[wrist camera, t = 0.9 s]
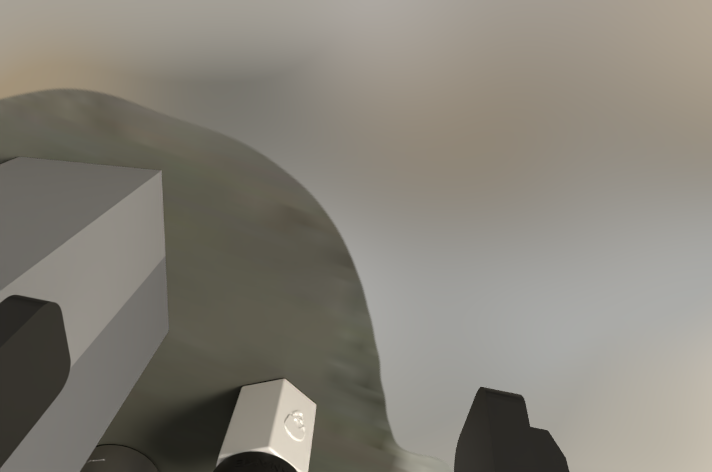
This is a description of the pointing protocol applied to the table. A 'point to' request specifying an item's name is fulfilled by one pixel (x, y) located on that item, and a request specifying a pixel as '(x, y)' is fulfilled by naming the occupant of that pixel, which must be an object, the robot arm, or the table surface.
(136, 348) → the stand
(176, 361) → the table surface
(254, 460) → the jar
